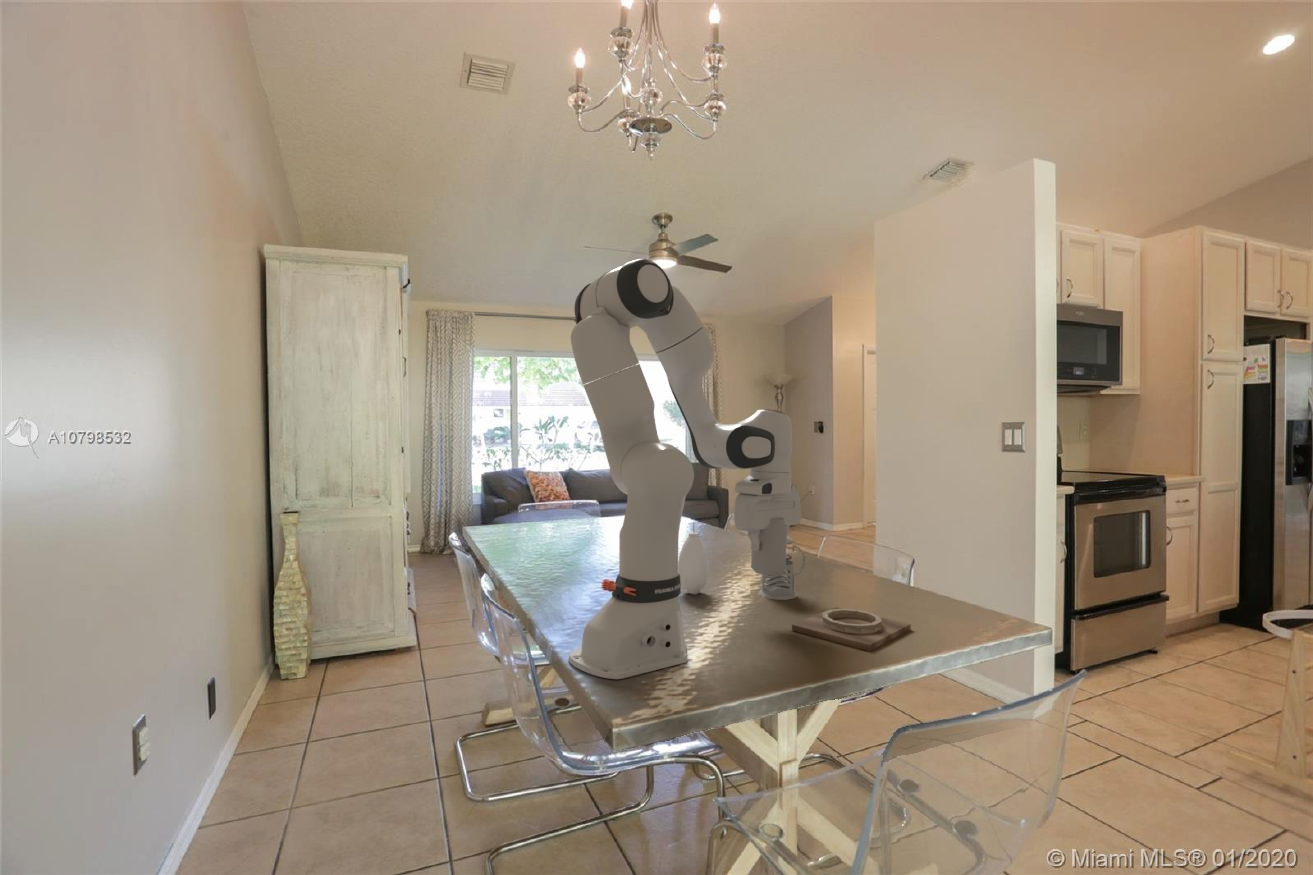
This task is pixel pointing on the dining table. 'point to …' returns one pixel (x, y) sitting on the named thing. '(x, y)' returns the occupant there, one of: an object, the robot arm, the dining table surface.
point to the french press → (778, 587)
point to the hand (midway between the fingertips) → (768, 548)
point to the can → (771, 549)
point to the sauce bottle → (693, 564)
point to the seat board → (852, 637)
